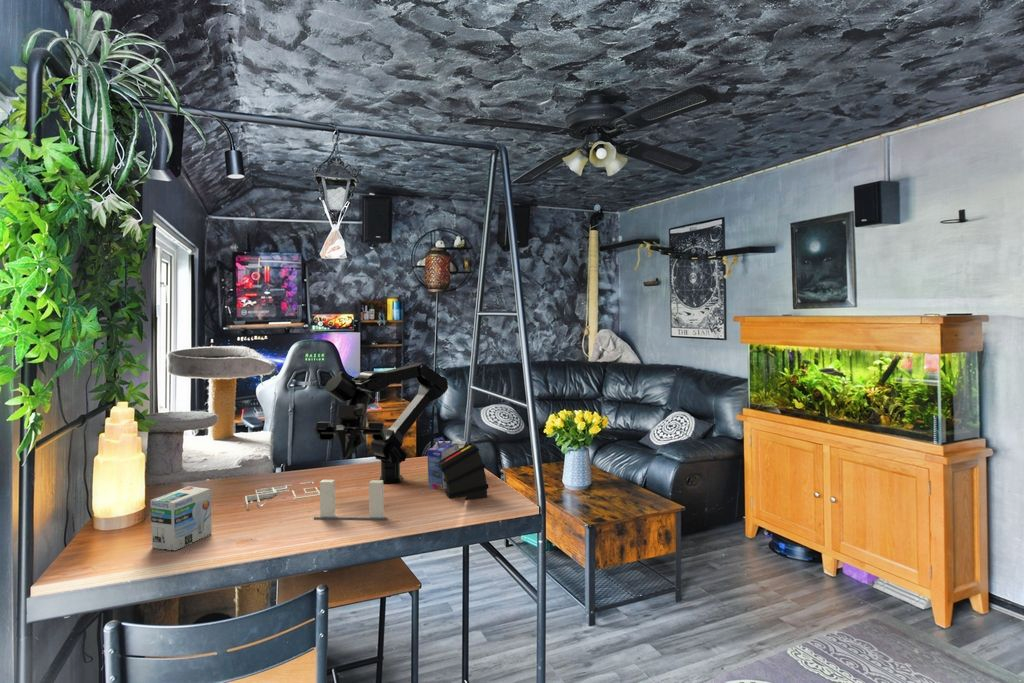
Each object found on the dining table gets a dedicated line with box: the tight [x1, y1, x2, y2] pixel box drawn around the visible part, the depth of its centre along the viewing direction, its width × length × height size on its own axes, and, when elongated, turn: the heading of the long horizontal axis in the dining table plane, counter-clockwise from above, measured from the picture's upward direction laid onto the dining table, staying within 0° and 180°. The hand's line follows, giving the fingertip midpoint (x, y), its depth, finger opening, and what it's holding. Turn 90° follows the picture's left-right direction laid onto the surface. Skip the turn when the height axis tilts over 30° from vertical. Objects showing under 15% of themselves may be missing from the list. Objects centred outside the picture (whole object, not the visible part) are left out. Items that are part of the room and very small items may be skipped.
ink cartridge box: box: [426, 436, 459, 490], centre depth 167 cm, size 10×6×14 cm, turn 155°
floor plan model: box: [244, 481, 320, 510], centre depth 156 cm, size 19×25×2 cm
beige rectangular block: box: [368, 479, 385, 518], centre depth 140 cm, size 2×3×9 cm, turn 88°
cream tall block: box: [319, 479, 336, 517], centre depth 140 cm, size 2×3×9 cm, turn 88°
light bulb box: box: [150, 485, 213, 552], centre depth 129 cm, size 11×7×11 cm, turn 164°
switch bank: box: [313, 516, 388, 521], centre depth 145 cm, size 12×18×2 cm, turn 88°
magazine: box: [438, 442, 490, 501], centre depth 158 cm, size 4×13×15 cm, turn 112°
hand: (344, 458), depth 153 cm, fingers closed
